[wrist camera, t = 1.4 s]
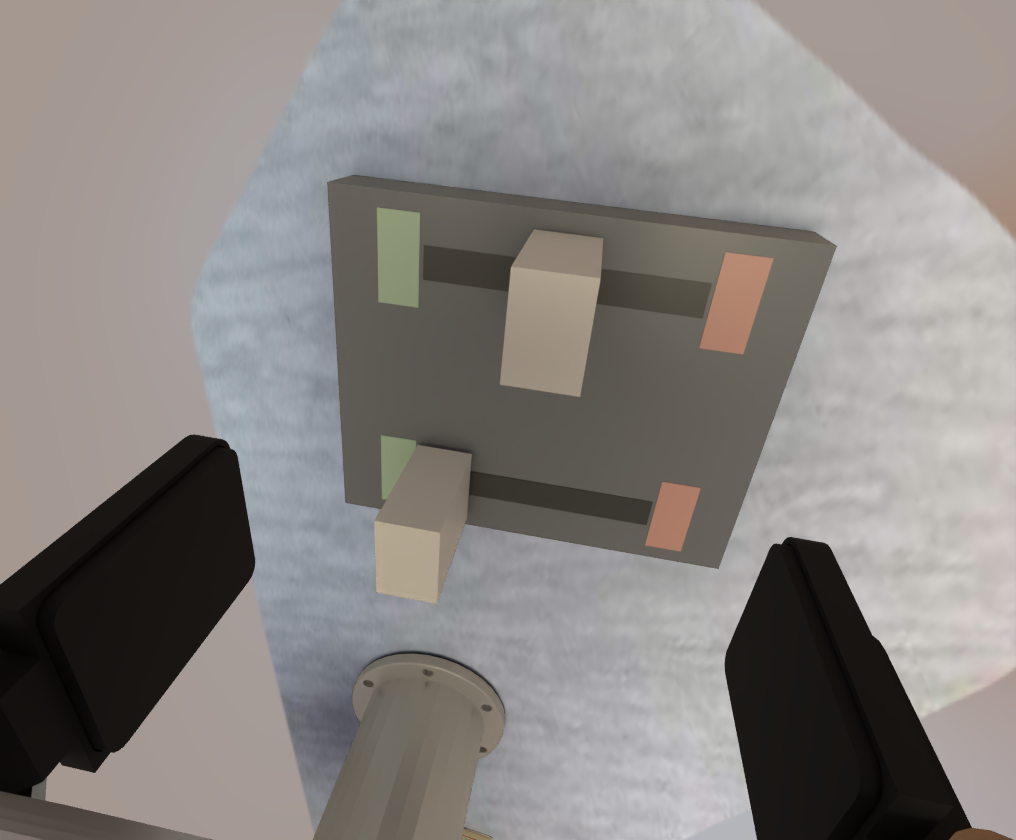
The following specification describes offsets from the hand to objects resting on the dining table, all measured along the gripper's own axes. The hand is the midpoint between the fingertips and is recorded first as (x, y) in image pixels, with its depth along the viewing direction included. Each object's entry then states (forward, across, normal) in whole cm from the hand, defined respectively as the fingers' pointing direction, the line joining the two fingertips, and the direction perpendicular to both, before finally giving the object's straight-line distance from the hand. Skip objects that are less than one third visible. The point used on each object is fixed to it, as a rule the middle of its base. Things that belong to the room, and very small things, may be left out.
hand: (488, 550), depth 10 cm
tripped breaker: (+18, 0, 0) cm, 18 cm away
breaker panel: (+22, 0, +6) cm, 22 cm away
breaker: (+18, +5, +12) cm, 22 cm away
